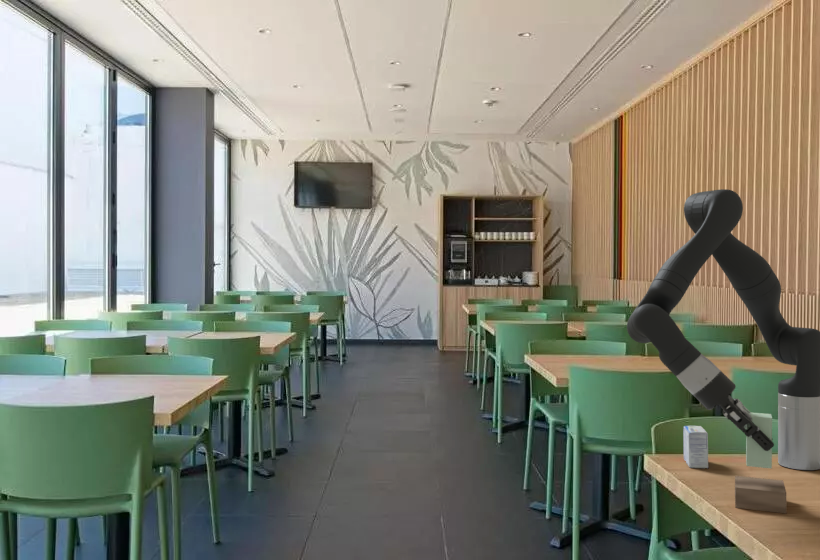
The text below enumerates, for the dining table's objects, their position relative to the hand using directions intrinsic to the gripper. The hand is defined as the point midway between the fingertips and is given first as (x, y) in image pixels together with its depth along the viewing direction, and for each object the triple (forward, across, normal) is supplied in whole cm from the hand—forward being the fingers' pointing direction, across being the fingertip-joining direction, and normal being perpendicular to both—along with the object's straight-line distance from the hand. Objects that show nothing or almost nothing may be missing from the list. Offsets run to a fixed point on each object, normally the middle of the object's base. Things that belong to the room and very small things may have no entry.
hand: (769, 444), depth 145 cm
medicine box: (-2, +27, +19) cm, 33 cm away
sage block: (+2, 0, +4) cm, 5 cm away
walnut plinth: (+7, 0, +10) cm, 12 cm away
